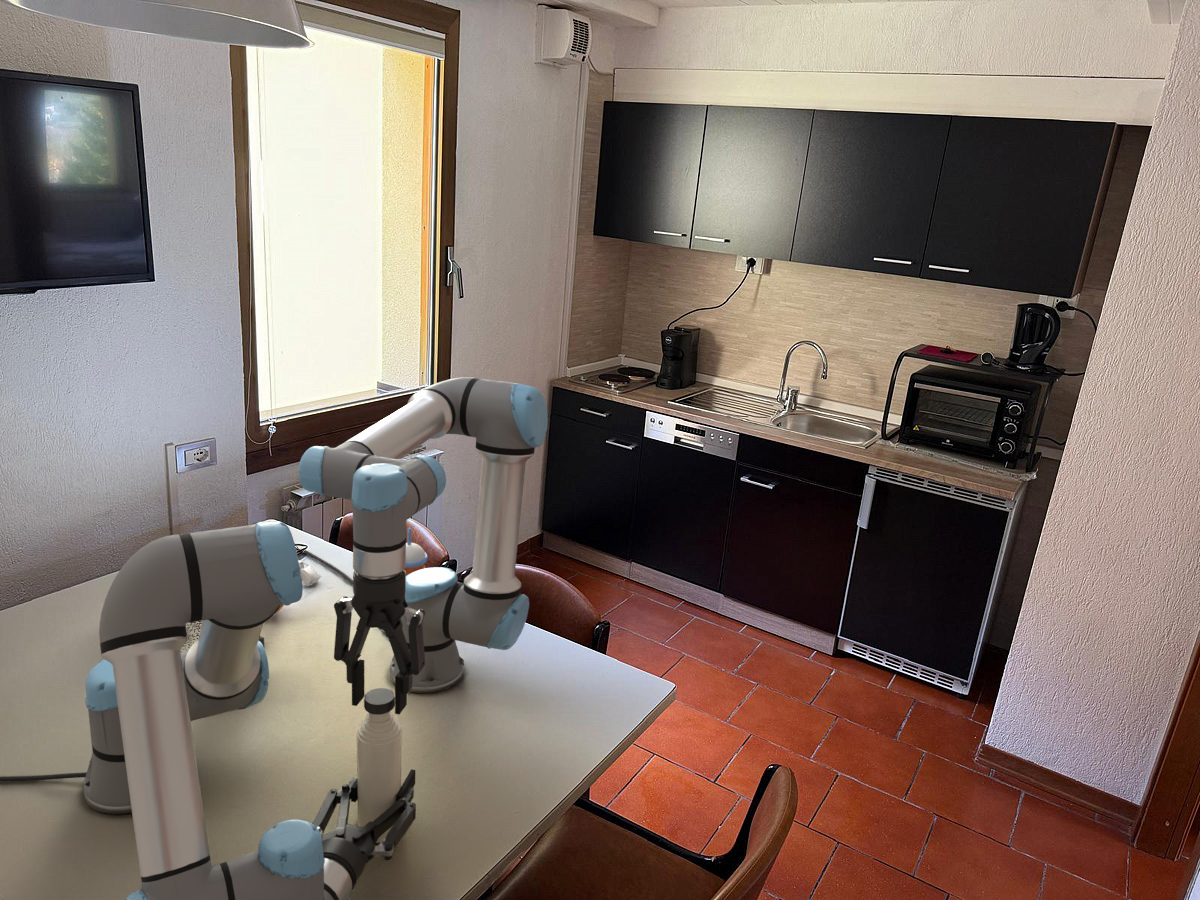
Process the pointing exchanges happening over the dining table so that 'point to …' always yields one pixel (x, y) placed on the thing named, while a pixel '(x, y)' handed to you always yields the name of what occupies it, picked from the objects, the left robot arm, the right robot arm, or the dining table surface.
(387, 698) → the cap
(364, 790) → the bottle
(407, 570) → the cup with straw
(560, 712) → the dining table surface
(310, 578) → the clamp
